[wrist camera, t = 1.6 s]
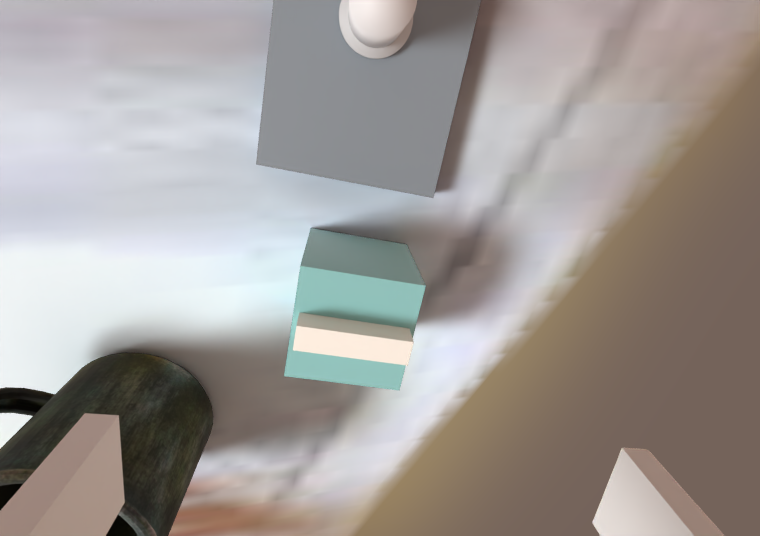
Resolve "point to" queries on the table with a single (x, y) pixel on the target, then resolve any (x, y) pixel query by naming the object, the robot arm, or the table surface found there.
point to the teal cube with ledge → (354, 311)
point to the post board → (364, 88)
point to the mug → (137, 433)
